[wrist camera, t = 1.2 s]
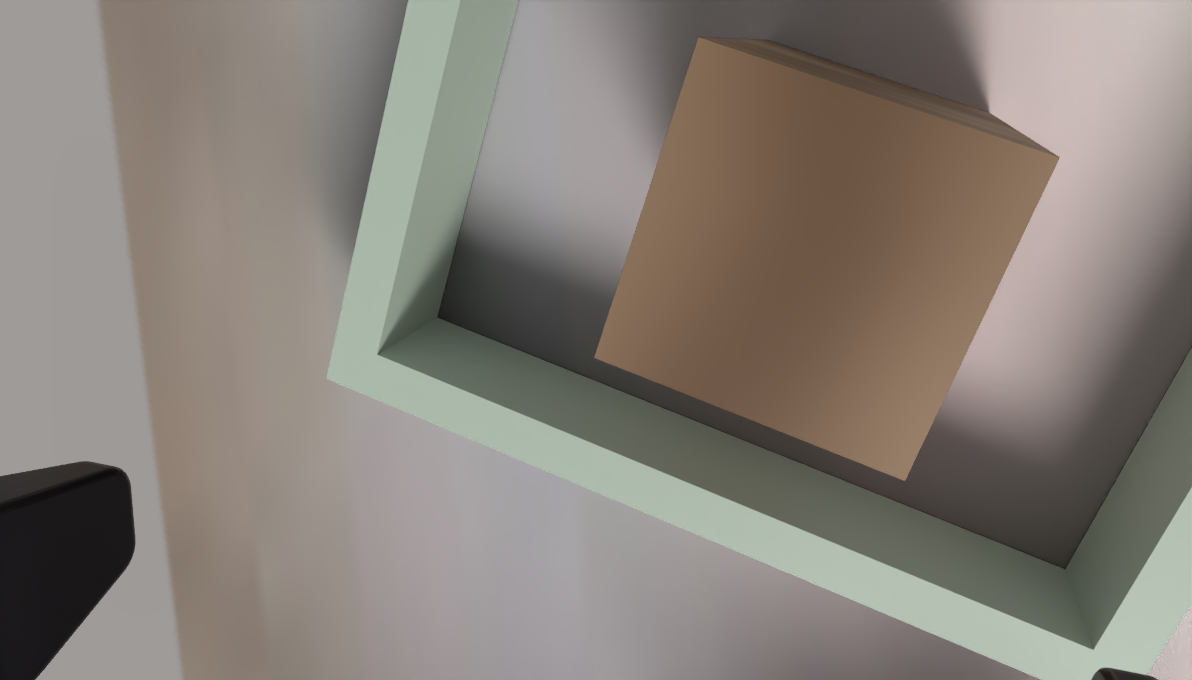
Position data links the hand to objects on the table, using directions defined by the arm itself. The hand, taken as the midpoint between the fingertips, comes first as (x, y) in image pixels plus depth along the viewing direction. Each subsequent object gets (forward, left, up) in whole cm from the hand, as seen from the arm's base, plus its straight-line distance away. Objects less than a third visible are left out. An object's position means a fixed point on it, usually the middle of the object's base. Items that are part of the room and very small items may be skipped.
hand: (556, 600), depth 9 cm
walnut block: (-1, -2, -13) cm, 13 cm away
